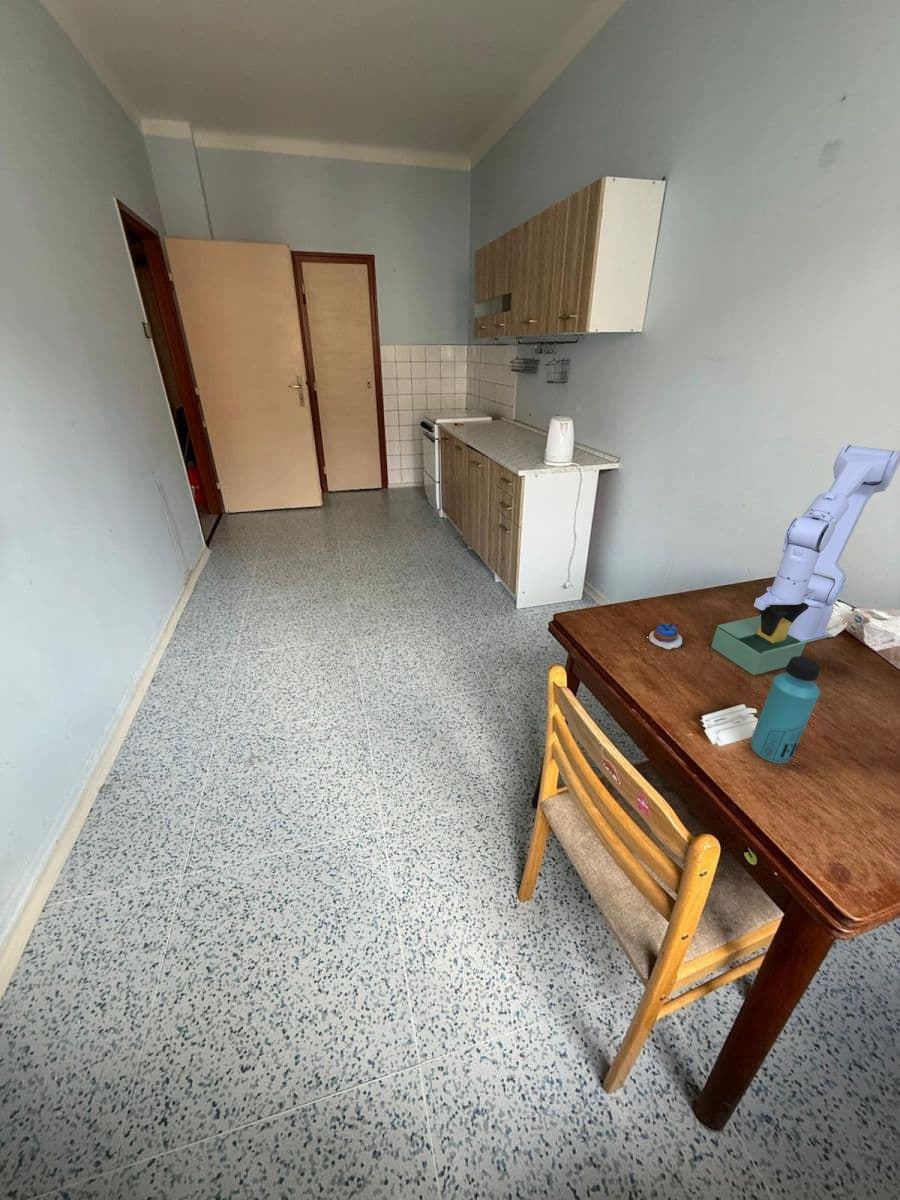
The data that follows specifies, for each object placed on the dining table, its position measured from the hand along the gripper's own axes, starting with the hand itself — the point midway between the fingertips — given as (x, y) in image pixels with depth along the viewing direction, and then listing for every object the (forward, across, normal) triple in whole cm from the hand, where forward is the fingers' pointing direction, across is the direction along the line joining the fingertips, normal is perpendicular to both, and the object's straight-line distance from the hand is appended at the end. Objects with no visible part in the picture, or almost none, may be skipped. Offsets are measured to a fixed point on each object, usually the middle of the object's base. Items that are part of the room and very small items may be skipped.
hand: (773, 631), depth 103 cm
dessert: (+8, +14, -14) cm, 22 cm away
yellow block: (+1, 0, 0) cm, 1 cm away
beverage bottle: (+8, +23, +22) cm, 33 cm away
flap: (0, 0, +5) cm, 5 cm away
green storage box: (+8, 0, -2) cm, 8 cm away
